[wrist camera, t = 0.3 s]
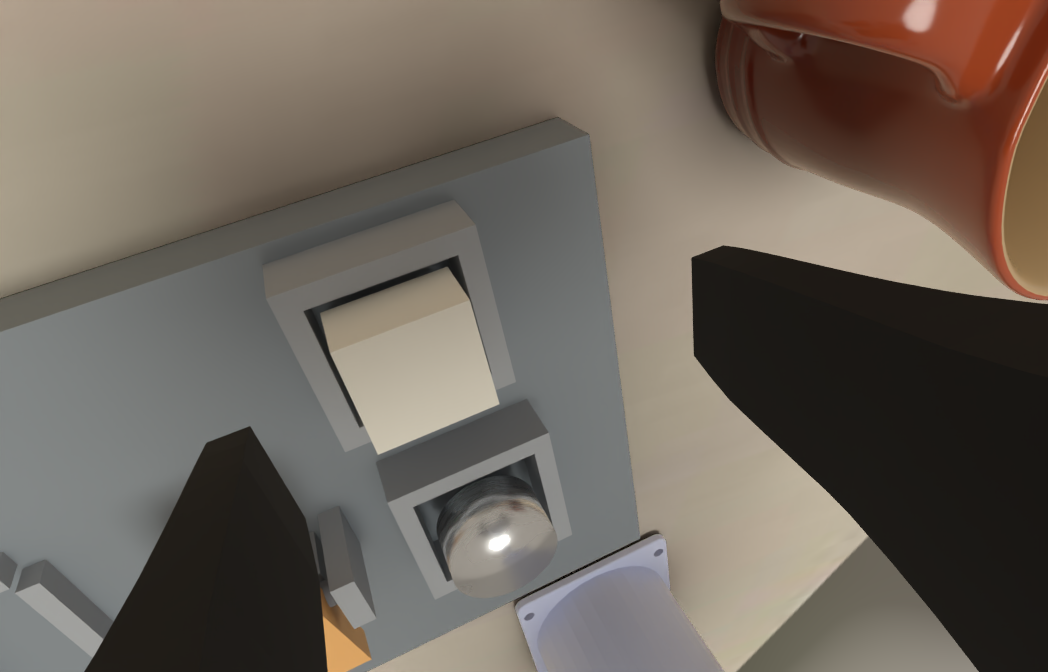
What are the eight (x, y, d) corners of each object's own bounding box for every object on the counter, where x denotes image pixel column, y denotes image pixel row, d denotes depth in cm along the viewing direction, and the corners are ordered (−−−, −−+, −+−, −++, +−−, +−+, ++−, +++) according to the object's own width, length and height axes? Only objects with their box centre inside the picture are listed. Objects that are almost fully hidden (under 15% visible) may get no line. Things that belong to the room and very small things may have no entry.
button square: (476, 365, 17) (499, 403, 16) (364, 411, 17) (378, 455, 15) (447, 266, 15) (469, 299, 14) (319, 312, 15) (329, 352, 13)
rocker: (365, 617, 22) (376, 657, 21) (257, 668, 21) (264, 711, 21) (278, 526, 16) (288, 577, 15) (122, 593, 15) (123, 650, 14)
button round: (543, 525, 22) (564, 566, 21) (451, 568, 21) (467, 613, 20) (525, 460, 20) (547, 500, 19) (423, 504, 19) (438, 549, 18)
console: (617, 505, 29) (678, 595, 25) (120, 740, 25) (100, 892, 21) (558, 117, 18) (648, 167, 15) (-333, 407, 14) (-548, 591, 10)
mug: (954, -84, 20) (1442, -94, 12) (828, 184, 24) (1134, 312, 16) (648, -254, 15) (1157, -476, 7) (548, 126, 19) (796, 275, 10)
